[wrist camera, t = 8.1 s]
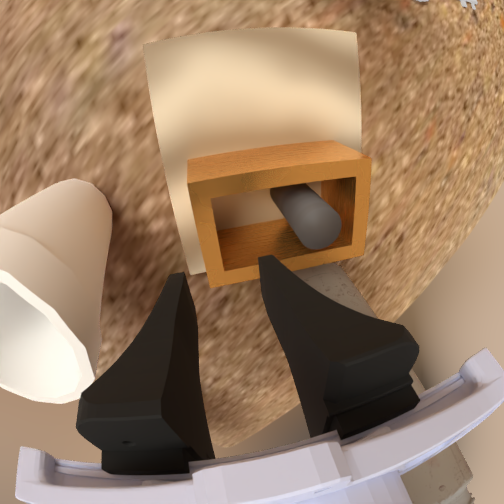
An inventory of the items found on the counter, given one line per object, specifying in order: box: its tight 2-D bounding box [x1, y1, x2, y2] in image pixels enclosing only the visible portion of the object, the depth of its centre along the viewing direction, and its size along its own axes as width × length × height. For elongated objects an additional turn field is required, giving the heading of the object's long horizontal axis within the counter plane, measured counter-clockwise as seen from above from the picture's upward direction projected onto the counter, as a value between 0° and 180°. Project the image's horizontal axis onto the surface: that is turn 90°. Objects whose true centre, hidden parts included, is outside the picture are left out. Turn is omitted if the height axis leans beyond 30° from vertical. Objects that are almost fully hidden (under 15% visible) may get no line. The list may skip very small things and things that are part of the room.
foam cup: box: [0, 179, 112, 404], centre depth 14 cm, size 10×9×13 cm
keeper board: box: [143, 28, 361, 275], centre depth 17 cm, size 17×14×8 cm
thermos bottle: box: [292, 263, 475, 504], centre depth 16 cm, size 8×8×28 cm
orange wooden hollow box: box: [187, 140, 372, 288], centre depth 18 cm, size 10×6×5 cm, turn 96°
